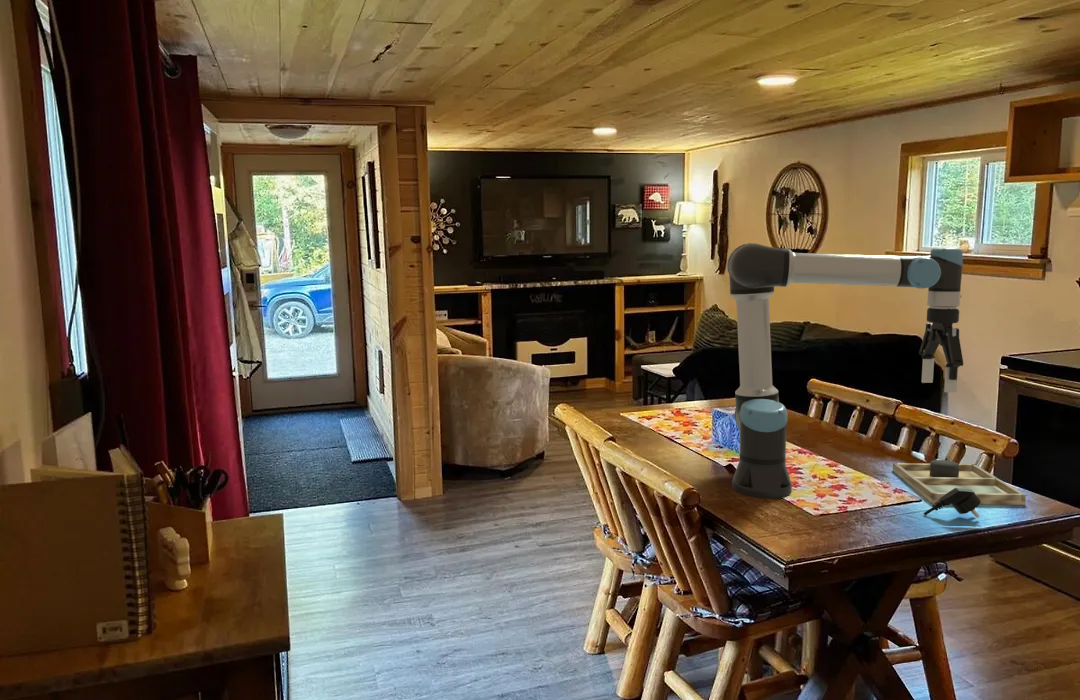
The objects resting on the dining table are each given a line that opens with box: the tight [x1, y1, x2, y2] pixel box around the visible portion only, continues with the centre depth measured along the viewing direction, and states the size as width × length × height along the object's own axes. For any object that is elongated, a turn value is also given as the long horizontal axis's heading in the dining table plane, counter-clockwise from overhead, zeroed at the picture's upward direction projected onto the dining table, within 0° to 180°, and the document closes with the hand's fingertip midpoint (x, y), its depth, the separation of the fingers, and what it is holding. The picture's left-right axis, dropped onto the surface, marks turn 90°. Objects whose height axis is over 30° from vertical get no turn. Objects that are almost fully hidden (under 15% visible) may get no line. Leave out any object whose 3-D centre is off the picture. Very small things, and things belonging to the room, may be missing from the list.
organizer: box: [892, 462, 1027, 506], centre depth 205 cm, size 22×27×2 cm
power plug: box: [922, 488, 981, 519], centre depth 183 cm, size 6×8×12 cm
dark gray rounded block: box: [929, 459, 960, 478], centre depth 211 cm, size 7×7×4 cm
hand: (938, 387), depth 206 cm, fingers open, 13 cm apart
